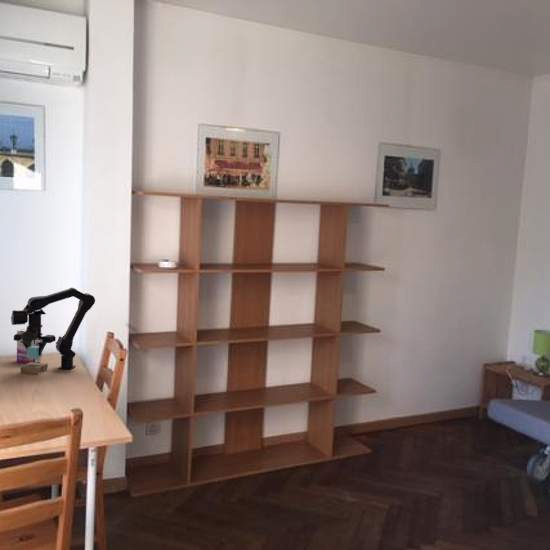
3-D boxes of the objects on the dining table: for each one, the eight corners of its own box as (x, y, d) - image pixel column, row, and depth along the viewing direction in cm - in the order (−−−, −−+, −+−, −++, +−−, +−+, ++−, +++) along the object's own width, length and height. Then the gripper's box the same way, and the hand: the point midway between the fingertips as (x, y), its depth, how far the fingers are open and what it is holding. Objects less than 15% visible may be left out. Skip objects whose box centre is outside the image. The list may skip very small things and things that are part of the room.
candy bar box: (41, 362, 310) (41, 330, 308) (34, 364, 305) (34, 332, 303) (22, 359, 313) (23, 328, 311) (16, 361, 308) (16, 330, 306)
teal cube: (32, 355, 295) (32, 345, 294) (41, 356, 294) (42, 346, 294) (26, 358, 290) (26, 348, 289) (36, 358, 289) (36, 348, 289)
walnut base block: (30, 368, 298) (30, 362, 297) (47, 369, 297) (47, 363, 296) (20, 372, 289) (20, 366, 288) (38, 374, 288) (38, 368, 287)
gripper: (7, 325, 283) (7, 357, 285) (45, 328, 281) (44, 360, 283) (19, 321, 294) (19, 352, 296) (56, 323, 292) (55, 355, 294)
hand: (34, 355), depth 292 cm, fingers closed on teal cube, 5 cm apart
